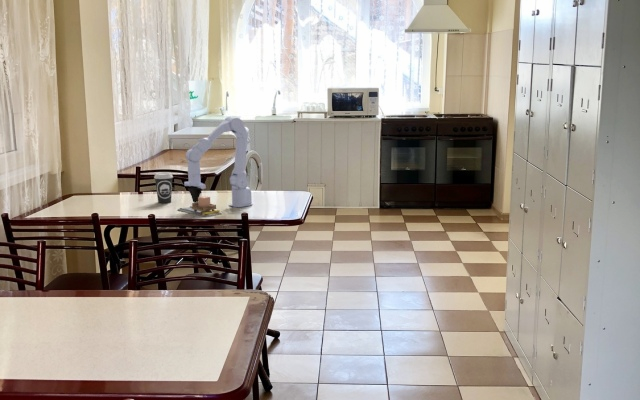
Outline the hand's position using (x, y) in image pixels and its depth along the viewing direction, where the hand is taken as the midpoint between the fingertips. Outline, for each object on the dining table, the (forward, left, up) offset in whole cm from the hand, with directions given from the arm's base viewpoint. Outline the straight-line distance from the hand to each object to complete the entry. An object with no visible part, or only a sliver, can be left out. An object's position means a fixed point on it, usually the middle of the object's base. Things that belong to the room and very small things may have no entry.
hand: (195, 201), depth 329 cm
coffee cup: (-2, -30, -4) cm, 30 cm away
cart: (+1, +8, -4) cm, 10 cm away
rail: (+1, +4, -4) cm, 6 cm away
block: (+1, +9, -1) cm, 9 cm away
